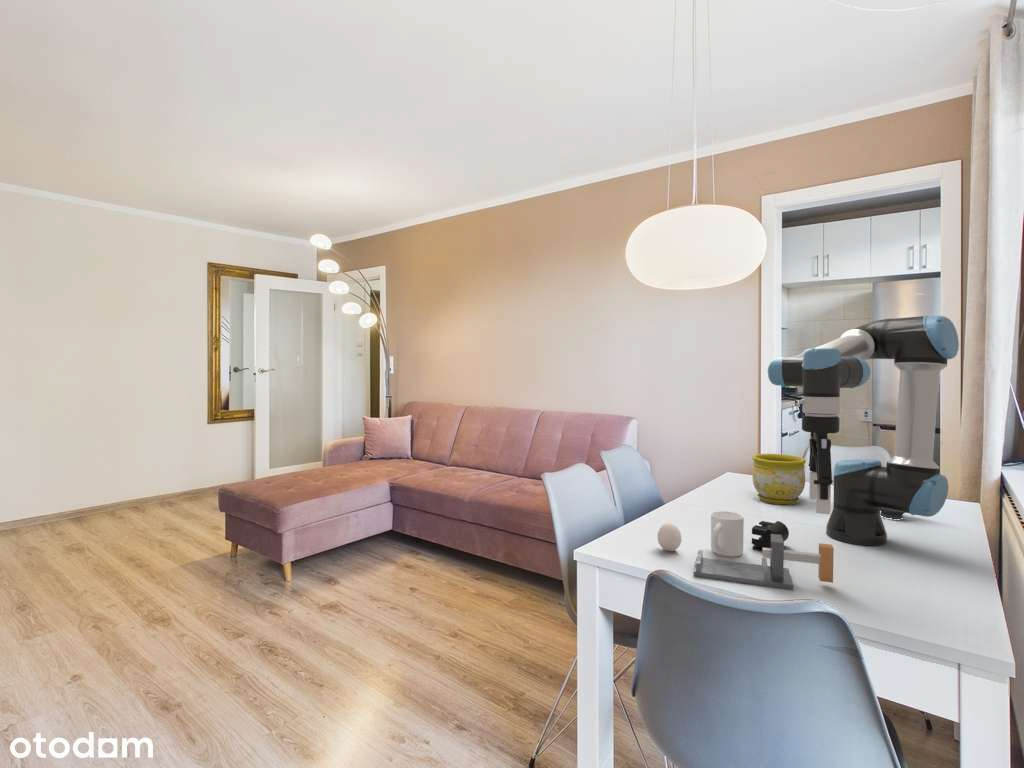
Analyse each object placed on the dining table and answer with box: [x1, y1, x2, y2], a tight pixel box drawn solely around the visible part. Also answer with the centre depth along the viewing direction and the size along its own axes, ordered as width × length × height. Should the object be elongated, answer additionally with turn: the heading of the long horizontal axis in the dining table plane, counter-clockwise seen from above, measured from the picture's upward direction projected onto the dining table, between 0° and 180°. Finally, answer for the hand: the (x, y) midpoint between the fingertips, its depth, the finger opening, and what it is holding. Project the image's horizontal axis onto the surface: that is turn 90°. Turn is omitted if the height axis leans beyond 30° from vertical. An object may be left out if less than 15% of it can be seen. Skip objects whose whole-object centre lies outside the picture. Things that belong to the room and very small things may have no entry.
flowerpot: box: [751, 453, 807, 505], centre depth 201 cm, size 18×18×16 cm
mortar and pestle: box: [880, 508, 905, 519], centre depth 177 cm, size 11×9×12 cm
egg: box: [657, 521, 682, 552], centre depth 148 cm, size 6×6×8 cm
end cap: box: [751, 520, 790, 552], centre depth 150 cm, size 10×7×7 cm
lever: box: [761, 542, 835, 583], centre depth 126 cm, size 15×3×8 cm, turn 67°
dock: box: [693, 534, 794, 591], centre depth 130 cm, size 22×11×10 cm, turn 67°
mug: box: [710, 510, 745, 558], centre depth 145 cm, size 12×8×10 cm
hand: (819, 505), depth 124 cm, fingers open, 13 cm apart
